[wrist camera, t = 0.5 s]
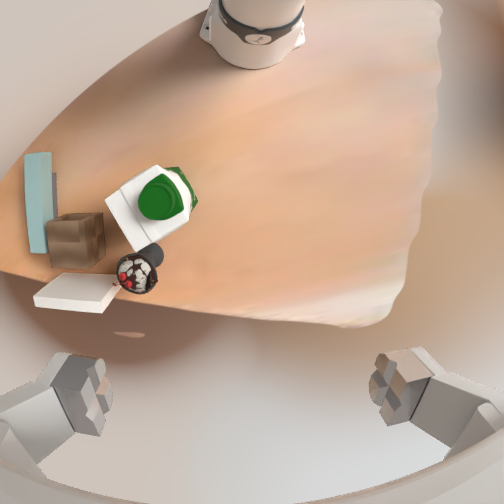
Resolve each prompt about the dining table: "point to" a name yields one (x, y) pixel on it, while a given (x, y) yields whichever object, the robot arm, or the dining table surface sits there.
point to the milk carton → (152, 205)
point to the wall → (78, 292)
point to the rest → (54, 196)
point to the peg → (38, 198)
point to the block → (76, 240)
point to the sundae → (140, 269)
